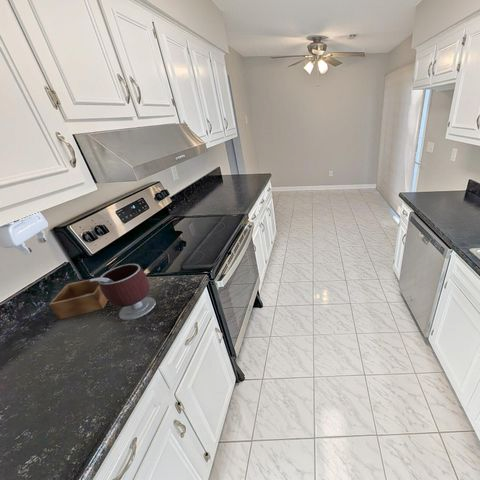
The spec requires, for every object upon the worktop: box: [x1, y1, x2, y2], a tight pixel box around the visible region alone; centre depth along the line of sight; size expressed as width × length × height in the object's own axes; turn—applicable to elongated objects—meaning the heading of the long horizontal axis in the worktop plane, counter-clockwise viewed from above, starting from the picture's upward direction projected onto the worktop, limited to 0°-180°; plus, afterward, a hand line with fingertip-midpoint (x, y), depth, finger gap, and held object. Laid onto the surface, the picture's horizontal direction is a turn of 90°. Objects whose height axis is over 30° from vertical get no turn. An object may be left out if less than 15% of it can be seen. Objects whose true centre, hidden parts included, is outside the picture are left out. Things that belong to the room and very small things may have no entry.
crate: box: [48, 278, 109, 320], centre depth 104 cm, size 15×14×8 cm
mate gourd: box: [88, 263, 157, 321], centre depth 95 cm, size 16×14×20 cm
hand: (36, 247), depth 95 cm, fingers open, 8 cm apart
